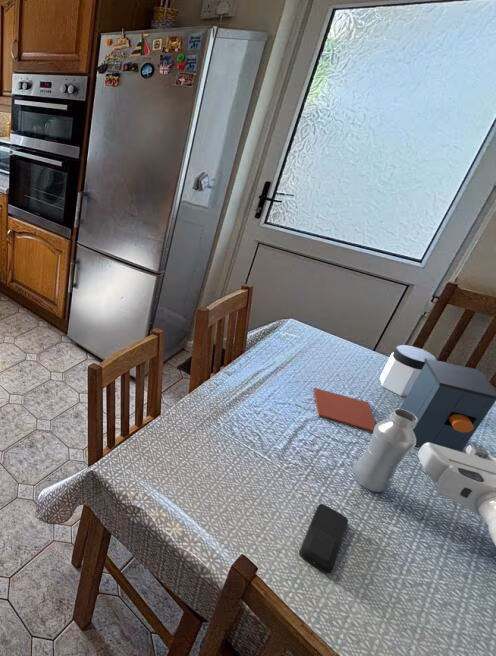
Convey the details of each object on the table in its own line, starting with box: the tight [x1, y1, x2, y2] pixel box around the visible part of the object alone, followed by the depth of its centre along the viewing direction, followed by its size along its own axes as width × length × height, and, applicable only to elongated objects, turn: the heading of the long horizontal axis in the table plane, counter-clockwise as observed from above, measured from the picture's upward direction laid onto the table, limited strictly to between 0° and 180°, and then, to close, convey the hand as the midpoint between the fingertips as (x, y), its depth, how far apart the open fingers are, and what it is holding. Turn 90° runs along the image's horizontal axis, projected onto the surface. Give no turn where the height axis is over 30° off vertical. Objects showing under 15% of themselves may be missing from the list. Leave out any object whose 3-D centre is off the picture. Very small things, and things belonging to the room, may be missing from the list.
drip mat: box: [313, 387, 377, 433], centre depth 111 cm, size 12×12×1 cm
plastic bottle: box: [351, 408, 418, 493], centre depth 87 cm, size 6×7×20 cm
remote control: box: [298, 503, 349, 575], centre depth 80 cm, size 5×2×15 cm
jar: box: [379, 344, 437, 397], centre depth 116 cm, size 9×8×12 cm
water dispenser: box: [399, 358, 496, 452], centre depth 99 cm, size 10×11×19 cm
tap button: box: [449, 414, 474, 433], centre depth 94 cm, size 3×2×3 cm
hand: (476, 449), depth 87 cm, fingers closed
